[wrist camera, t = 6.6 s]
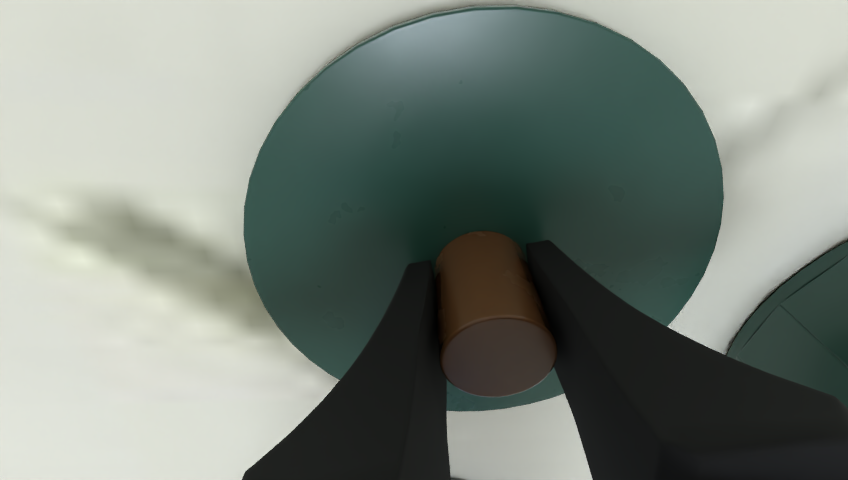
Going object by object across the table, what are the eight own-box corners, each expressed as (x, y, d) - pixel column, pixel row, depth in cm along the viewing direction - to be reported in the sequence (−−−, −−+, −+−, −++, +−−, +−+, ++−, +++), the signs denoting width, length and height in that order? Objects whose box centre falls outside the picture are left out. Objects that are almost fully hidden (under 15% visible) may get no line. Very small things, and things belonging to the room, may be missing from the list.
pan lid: (676, 357, 16) (757, 480, 12) (339, 408, 17) (316, 532, 14) (739, -67, 9) (975, -91, 5) (165, 76, 10) (19, 139, 7)
